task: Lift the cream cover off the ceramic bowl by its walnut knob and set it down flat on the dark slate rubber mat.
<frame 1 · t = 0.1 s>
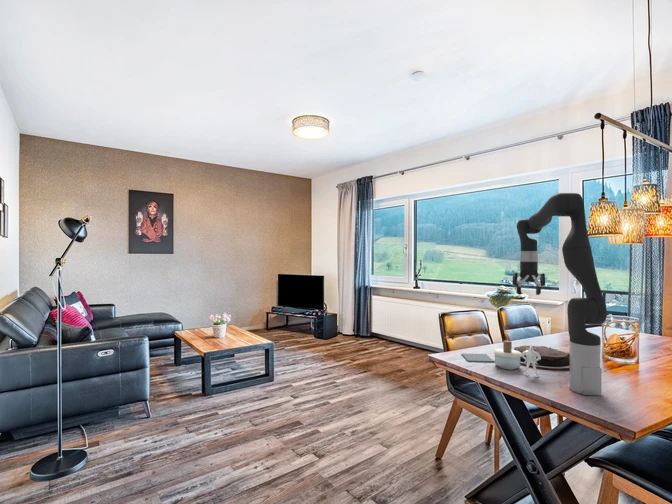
hand: (528, 294, 178), 29 cm above the table, tool pointing down, fingers open, 8 cm apart
cover: (507, 354, 160), point 5 cm above the table, touching bowl
figurine: (530, 376, 149), on the table
mat: (477, 358, 173), on the table
bowl: (507, 366, 160), on the table
chocolate cake: (540, 362, 170), on the table
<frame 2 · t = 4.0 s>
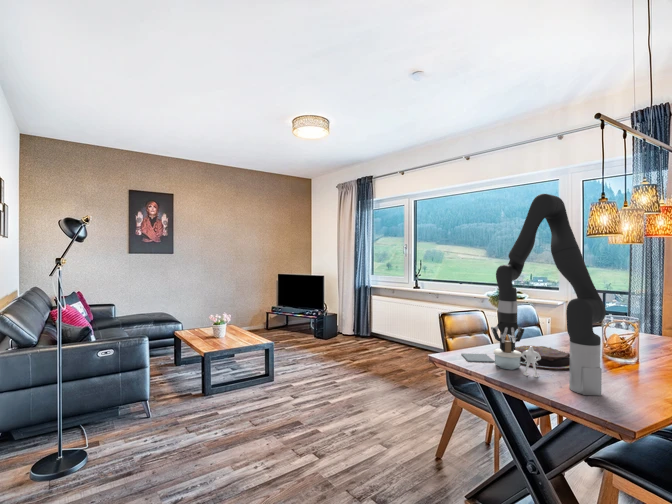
hand: (507, 350, 160), 7 cm above the table, tool pointing down, fingers closed on cover, 3 cm apart
cover: (507, 354, 160), point 5 cm above the table, touching bowl, gripper
everything else where it was.
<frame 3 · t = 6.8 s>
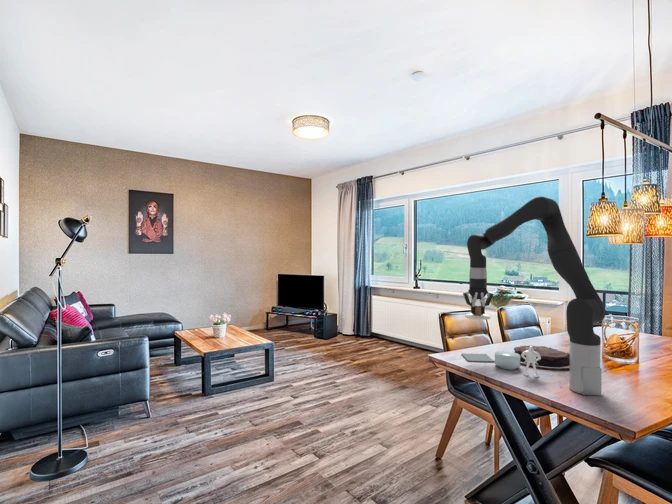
hand: (477, 314, 173), 20 cm above the table, tool pointing down, fingers closed on cover, 3 cm apart
cover: (477, 317, 173), point 19 cm above the table, touching gripper
everything else where it was.
when the fingers open (3 cm above the table, at t = 9.7 s): cover drops 1 cm, resting on mat.
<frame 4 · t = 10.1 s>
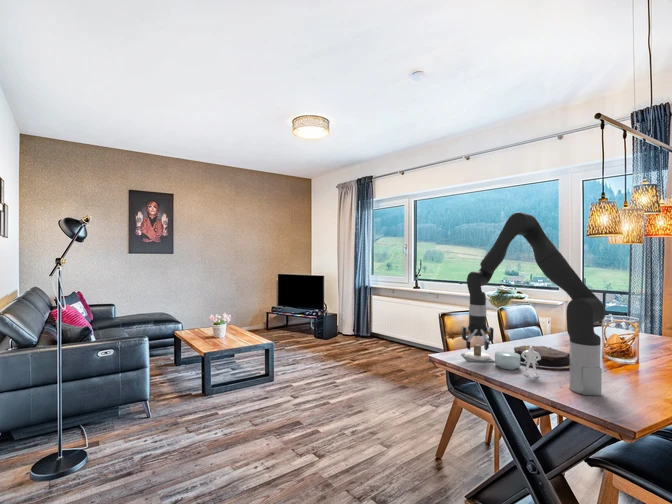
hand: (477, 349, 173), 4 cm above the table, tool pointing down, fingers open, 7 cm apart
cover: (477, 357, 173), point 1 cm above the table, touching mat
everything else where it was.
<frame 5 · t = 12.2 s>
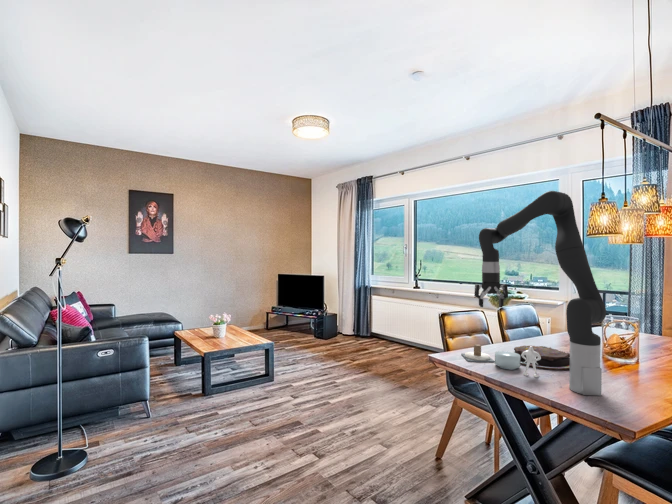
hand: (491, 307, 170), 24 cm above the table, tool pointing down, fingers open, 8 cm apart
nothing on the table moved.
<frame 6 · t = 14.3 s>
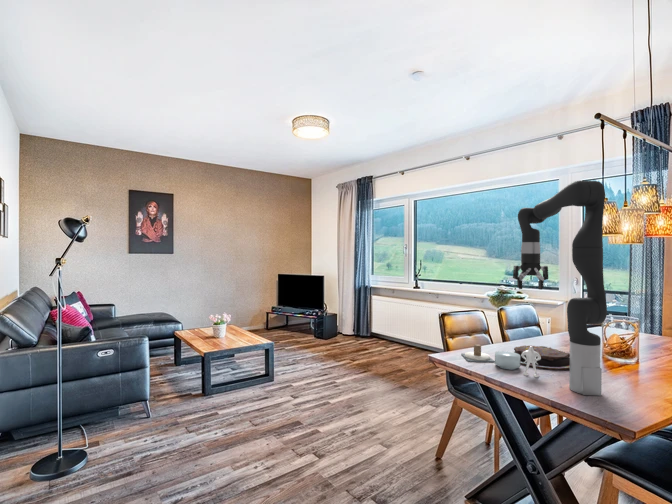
hand: (530, 289, 165), 33 cm above the table, tool pointing down, fingers open, 8 cm apart
nothing on the table moved.
at the end: cover inside the target area on the mat (0.0 cm from its centre), point 0.6 cm above the mat's base; cover tilted 0°; the gripper is holding nothing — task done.
